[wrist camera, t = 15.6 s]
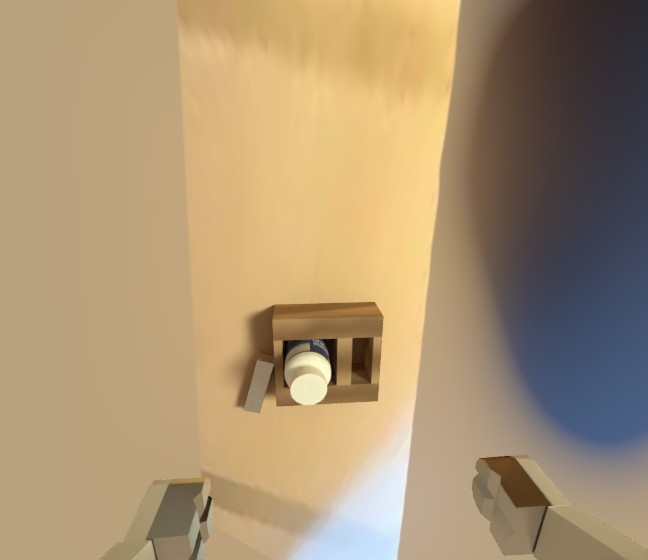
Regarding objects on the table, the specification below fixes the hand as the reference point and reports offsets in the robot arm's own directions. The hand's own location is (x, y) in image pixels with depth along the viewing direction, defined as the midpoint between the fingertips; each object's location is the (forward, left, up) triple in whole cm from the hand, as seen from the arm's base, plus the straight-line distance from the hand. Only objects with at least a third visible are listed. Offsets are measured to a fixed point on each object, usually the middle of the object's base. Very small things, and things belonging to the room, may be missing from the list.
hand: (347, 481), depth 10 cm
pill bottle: (+13, 0, -31) cm, 34 cm away
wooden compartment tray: (+13, +2, -31) cm, 34 cm away
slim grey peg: (+18, -7, -31) cm, 37 cm away
